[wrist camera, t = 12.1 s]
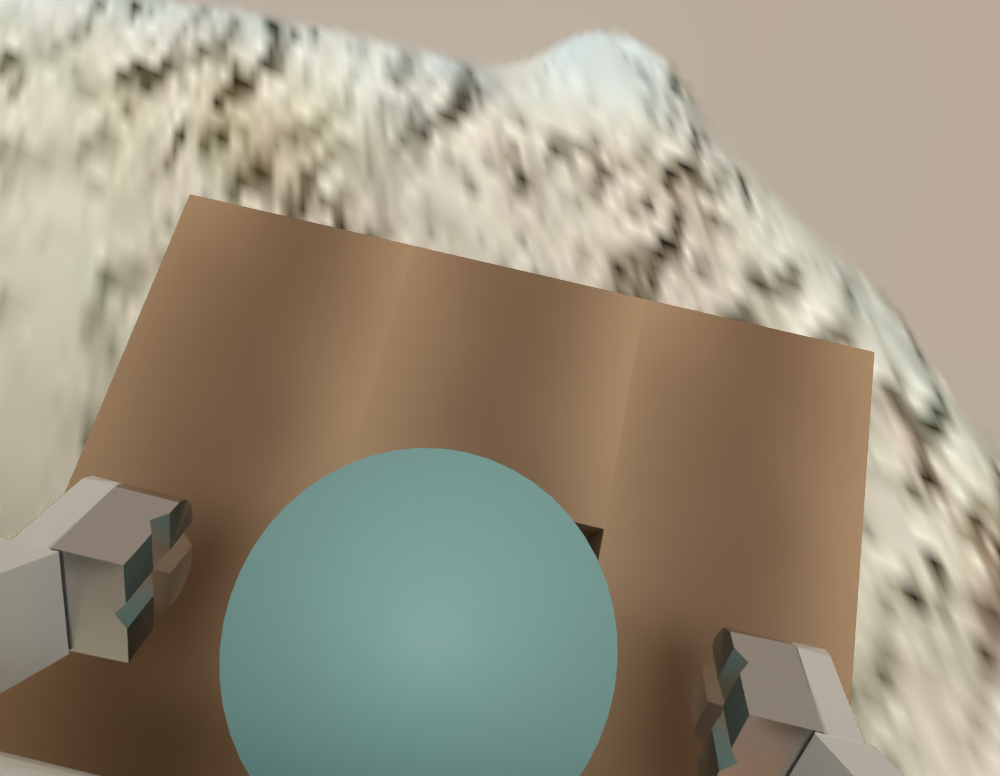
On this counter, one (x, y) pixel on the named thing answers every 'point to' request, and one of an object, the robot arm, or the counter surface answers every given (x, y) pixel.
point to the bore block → (473, 429)
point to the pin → (419, 627)
